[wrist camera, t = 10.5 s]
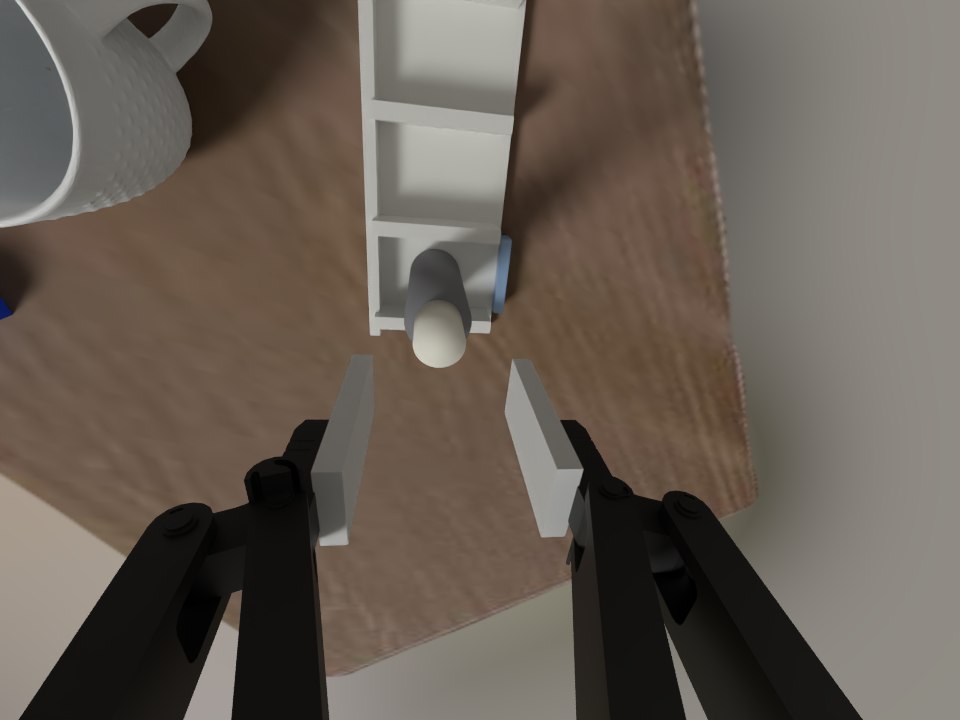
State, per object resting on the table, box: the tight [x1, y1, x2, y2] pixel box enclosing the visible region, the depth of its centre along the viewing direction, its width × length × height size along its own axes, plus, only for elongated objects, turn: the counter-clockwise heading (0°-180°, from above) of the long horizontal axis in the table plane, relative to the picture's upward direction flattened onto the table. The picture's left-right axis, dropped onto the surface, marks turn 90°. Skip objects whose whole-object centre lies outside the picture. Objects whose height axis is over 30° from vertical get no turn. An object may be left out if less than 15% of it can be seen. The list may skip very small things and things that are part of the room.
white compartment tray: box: [358, 0, 526, 336], centre depth 28 cm, size 24×11×4 cm, turn 175°
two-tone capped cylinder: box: [404, 249, 472, 368], centre depth 27 cm, size 4×4×13 cm
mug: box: [0, 0, 212, 227], centre depth 20 cm, size 15×11×13 cm
